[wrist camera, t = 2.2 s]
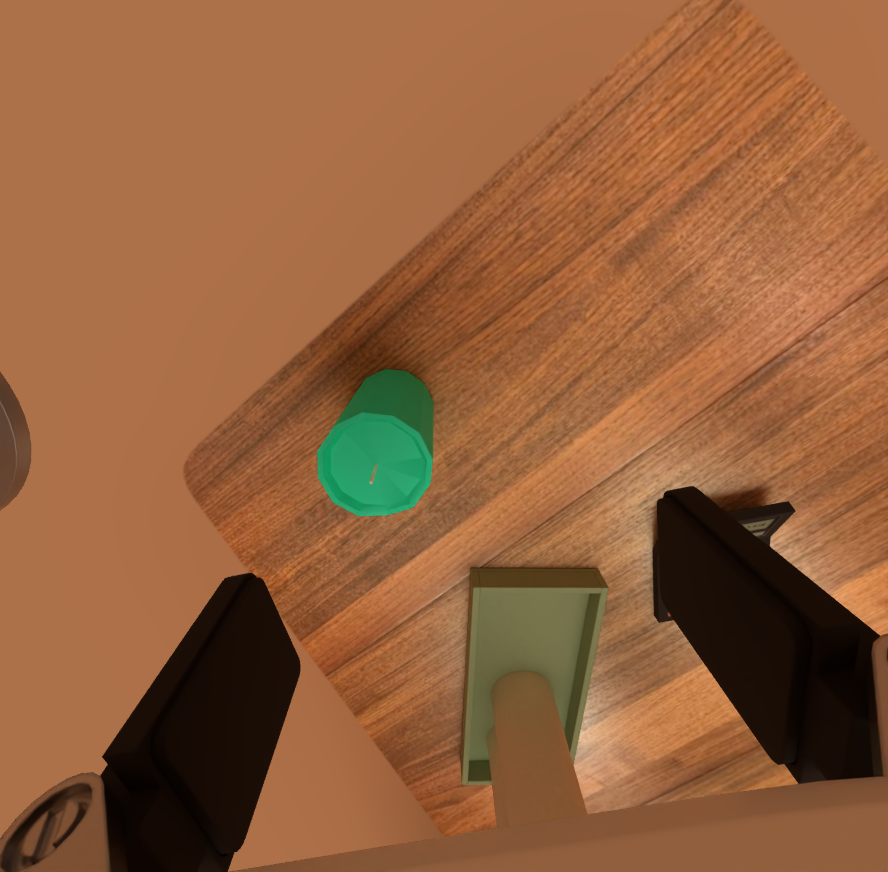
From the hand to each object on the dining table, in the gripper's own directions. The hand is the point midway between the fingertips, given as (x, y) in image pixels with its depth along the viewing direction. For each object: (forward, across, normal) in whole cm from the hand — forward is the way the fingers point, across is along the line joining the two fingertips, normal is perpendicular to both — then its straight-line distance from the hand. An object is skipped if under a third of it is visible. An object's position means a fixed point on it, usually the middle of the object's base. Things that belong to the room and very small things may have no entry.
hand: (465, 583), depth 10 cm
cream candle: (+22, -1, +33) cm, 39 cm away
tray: (+22, -1, +31) cm, 38 cm away
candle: (+22, +4, +2) cm, 23 cm away
